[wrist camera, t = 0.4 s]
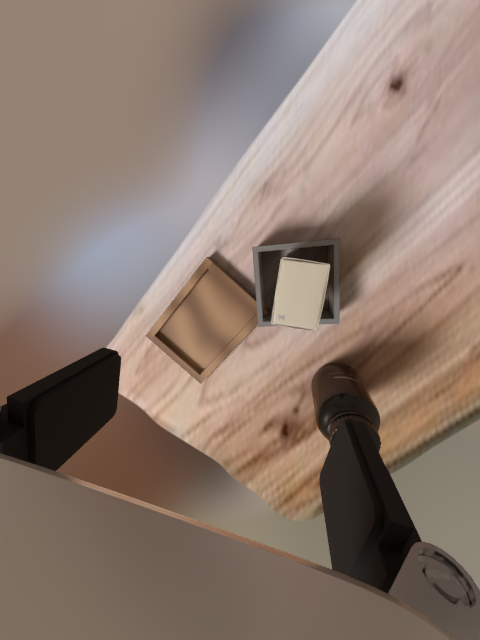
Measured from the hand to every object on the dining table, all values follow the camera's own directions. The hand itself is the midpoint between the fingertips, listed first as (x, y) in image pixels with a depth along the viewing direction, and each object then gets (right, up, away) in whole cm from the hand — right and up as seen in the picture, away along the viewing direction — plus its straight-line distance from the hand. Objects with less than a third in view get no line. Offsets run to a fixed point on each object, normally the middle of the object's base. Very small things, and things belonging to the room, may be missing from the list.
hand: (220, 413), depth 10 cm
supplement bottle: (+14, -5, +26) cm, 31 cm away
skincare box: (+8, +9, +24) cm, 27 cm away
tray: (-4, +3, +27) cm, 28 cm away
